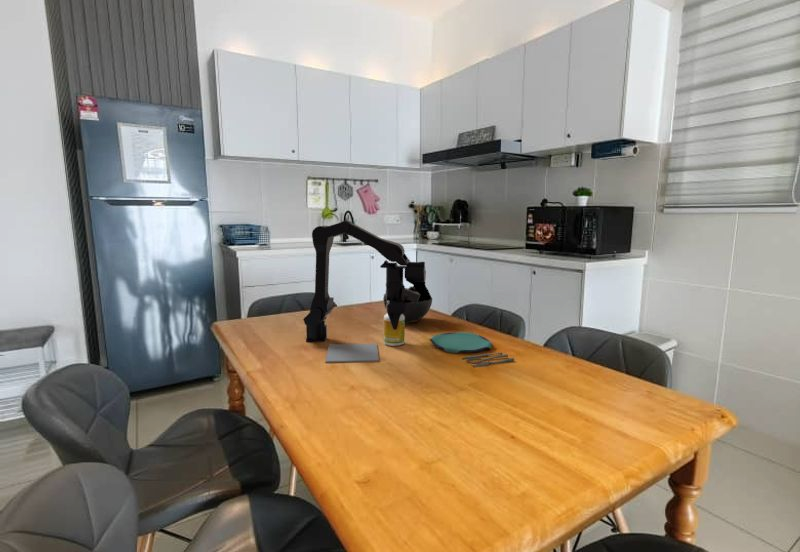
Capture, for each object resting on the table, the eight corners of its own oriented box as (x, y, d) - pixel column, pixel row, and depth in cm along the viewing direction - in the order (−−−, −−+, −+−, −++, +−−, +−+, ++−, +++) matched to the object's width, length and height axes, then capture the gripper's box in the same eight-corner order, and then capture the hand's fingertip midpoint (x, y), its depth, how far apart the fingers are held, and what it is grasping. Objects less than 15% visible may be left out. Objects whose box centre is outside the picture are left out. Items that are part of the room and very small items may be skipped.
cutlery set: (471, 334, 157) (471, 329, 157) (520, 363, 129) (521, 356, 129) (421, 340, 150) (422, 334, 150) (463, 372, 122) (463, 364, 122)
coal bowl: (437, 326, 167) (438, 279, 164) (387, 329, 163) (388, 281, 160) (424, 314, 186) (425, 272, 183) (379, 316, 182) (379, 273, 179)
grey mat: (325, 362, 126) (325, 361, 126) (328, 345, 142) (328, 344, 142) (379, 361, 128) (379, 359, 128) (376, 344, 143) (376, 343, 143)
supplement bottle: (404, 346, 141) (404, 308, 140) (382, 346, 142) (383, 308, 140) (404, 340, 148) (405, 304, 147) (384, 339, 149) (384, 303, 147)
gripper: (422, 285, 133) (421, 333, 136) (414, 276, 152) (414, 319, 154) (387, 286, 132) (386, 334, 135) (383, 276, 151) (383, 319, 153)
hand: (394, 326), depth 144 cm, fingers closed on supplement bottle, 7 cm apart
